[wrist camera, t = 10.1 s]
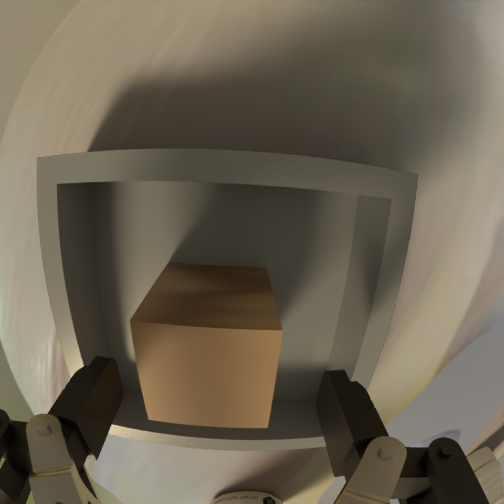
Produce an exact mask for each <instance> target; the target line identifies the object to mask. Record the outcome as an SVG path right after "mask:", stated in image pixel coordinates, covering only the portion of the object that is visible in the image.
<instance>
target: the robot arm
mask: <svg viewBox="0 0 504 504" xmlns="http://www.w3.org/2000/svg"><path fill="white" fill-rule="evenodd" d="M122 399H123V385H122V381H121V378H120V374H119V370H118V366H117V362H116V360H115V359H114V358H109V357H103V356H96V357H95V358H94V359H93V361H92V362H91V364H90V365H89V366H86V365H85V366H83V367H82V368H80V369H79V370H77V371H76V372H75V373H74V375H73V376H72V378H71V379H70V382H68V383H67V385H66V386H65V389H63V391H62V392H61V394H60V395H59V397H58V398H57V400H56V401H55V403H54V405H53V406H52V408H51V409H50V411H49V412H48V414H38V415H36V416H34V417H32V418H31V419H30V420H29V421H28V422H21V421H12V420H11V419H10V418H9V416H8V415H7V413H6V412H5V411H4V410H1V409H0V461H1V459H2V457H4V459H5V461H4V463H3V465H2V467H1V469H0V504H26V502H27V499H28V496H29V494H30V491H31V490H32V494H33V498H34V501H35V504H102V503H101V501H100V499H99V497H98V494H97V492H96V490H95V488H94V485H93V483H92V481H91V478H90V476H89V473H88V471H87V468H86V466H85V464H84V463H85V461H86V458H90V459H93V460H96V461H97V459H98V457H99V454H100V452H101V449H102V447H103V444H104V442H105V440H106V437H107V435H108V432H109V430H110V428H111V425H112V423H113V420H114V418H115V416H116V414H117V411H118V409H119V407H120V404H121V402H122ZM316 410H317V415H318V418H319V422H320V425H321V429H322V433H323V436H324V440H325V443H326V447H327V451H328V454H329V458H330V462H331V465H332V469H333V473H334V477H338V476H345V479H346V483H345V485H344V486H343V488H342V490H341V491H340V493H339V495H338V496H337V498H336V500H335V501H334V503H333V504H389V502H390V499H398V500H399V503H400V504H489V501H488V499H487V497H486V495H485V493H484V491H483V489H482V487H481V485H480V483H479V481H478V479H477V477H476V475H475V473H474V471H473V469H472V467H471V465H470V463H469V462H468V460H467V458H466V456H465V454H464V452H463V451H462V449H461V447H460V445H459V444H458V443H457V442H456V441H454V440H453V439H450V438H445V437H443V438H438V439H435V440H434V441H433V442H432V443H431V444H430V445H429V447H425V448H417V447H405V446H404V444H403V443H402V442H401V441H399V440H398V439H396V438H393V437H389V435H388V433H387V431H386V429H385V427H384V425H383V423H382V421H381V418H380V416H379V414H378V412H377V410H376V408H374V404H373V402H372V400H370V396H369V394H368V392H367V390H366V389H365V388H364V387H363V386H362V385H361V384H360V383H359V382H357V381H350V380H349V377H348V375H347V373H346V371H345V370H344V369H341V370H326V371H324V373H323V376H322V380H321V384H320V388H319V392H318V396H317V400H316Z"/></svg>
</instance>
